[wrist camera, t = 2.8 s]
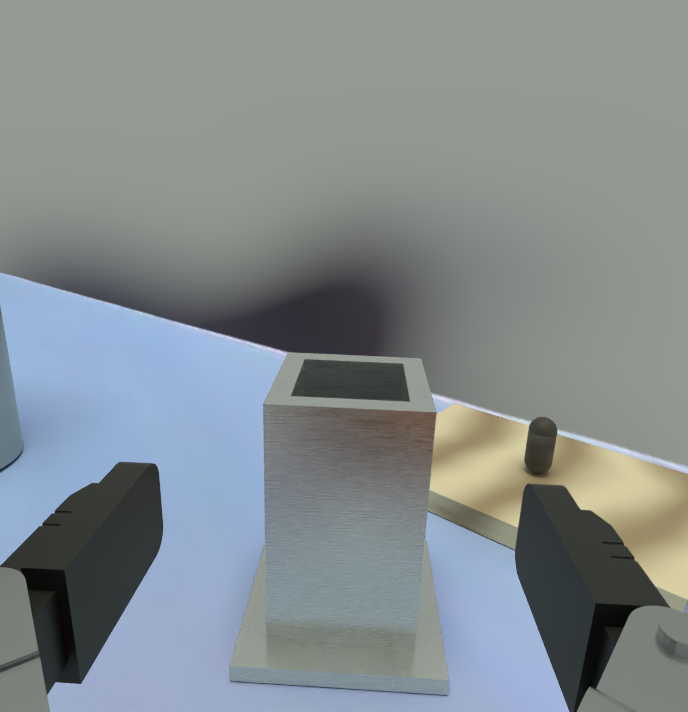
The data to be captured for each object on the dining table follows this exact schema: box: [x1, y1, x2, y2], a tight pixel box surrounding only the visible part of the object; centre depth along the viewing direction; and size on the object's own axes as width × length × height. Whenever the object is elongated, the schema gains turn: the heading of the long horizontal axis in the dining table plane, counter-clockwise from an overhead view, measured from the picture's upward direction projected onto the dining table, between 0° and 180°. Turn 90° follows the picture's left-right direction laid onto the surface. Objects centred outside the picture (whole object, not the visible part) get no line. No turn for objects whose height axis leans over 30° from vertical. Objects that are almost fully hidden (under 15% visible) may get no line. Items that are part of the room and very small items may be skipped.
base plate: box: [428, 403, 688, 612], centre depth 37 cm, size 20×14×6 cm
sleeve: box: [229, 353, 449, 695], centre depth 25 cm, size 9×9×12 cm
